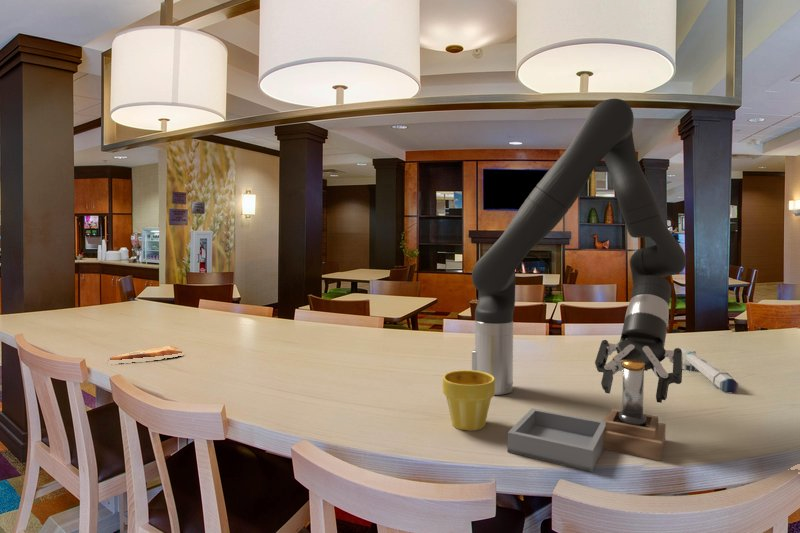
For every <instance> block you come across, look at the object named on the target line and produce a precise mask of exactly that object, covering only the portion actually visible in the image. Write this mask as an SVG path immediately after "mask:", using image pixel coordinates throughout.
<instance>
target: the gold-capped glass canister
mask: <svg viewBox="0 0 800 533" xmlns="http://www.w3.org/2000/svg"><path fill="white" fill-rule="evenodd" d="M622 367H623V370H622V392H621V393H622V397H621V398H622V399H621V400H622V402H621V403H622V405H621V410H622V411H620V412H619V423H625V424H631V425H636V426H642V427H646V415H645V414H646V413H644V395H645V394H644V393H645V392H644V389H645V385H644V384H645V370H644V369H645V362H643V361H639V360H632V359H626V360H623V361H622Z"/></svg>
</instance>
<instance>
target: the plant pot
mask: <svg viewBox="0 0 800 533" xmlns="http://www.w3.org/2000/svg"><path fill="white" fill-rule="evenodd" d="M442 394H443V395H444V396H445V397H446V402H447V406H448V412H449V416H450V422H451V425H452V426H453V427H454V428H456V429H458V430H462V431H467V430H468V431H478V430H481V429H483V428H484V427H485V426H486V422H487V418H488V412H489V409H490V404H491V402H492V398H493V397H494V396H495V395H494V394H495V378H494V377H493V376H492V375H490V374H488V373H485V372H481V371H474V370H472V369H471V370H470V369H467V370H466V369H462V370H461V369H459V370H452V371H449V372H446V373H445V374H443V376H442Z"/></svg>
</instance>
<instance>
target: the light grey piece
mask: <svg viewBox="0 0 800 533" xmlns="http://www.w3.org/2000/svg"><path fill="white" fill-rule="evenodd" d="M680 349H681V350H682V357H683V364H682V370H683V369H684V370H683V371H686V370H689V371H688V372H695V371H694V370H696V371H699V373H701V374H702V375H703V376H704V377H705V378H706V379H708V380H709V381H710V382H711V384H712V385H713V386H714V387H715V388H716V389H719V390H720V391H721V392H723V393H724V392H732V393H731V394H734V393H736V392H737V391H738V390H739V383H738V382H737V381H736V380H735V379H734V378H733V377H732V375H730V374H729V372H727V371H723V370H721V369H720V368H719V367H717V366H715V365H713V364H712V363H711V362H709V361H707V360H706V359H704V358H703V357H701V356H699V355H698V354H697V352H696V350H695V349H694V348H693V347H687V346H683V347H681V348H680ZM690 370H691V371H690Z"/></svg>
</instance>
